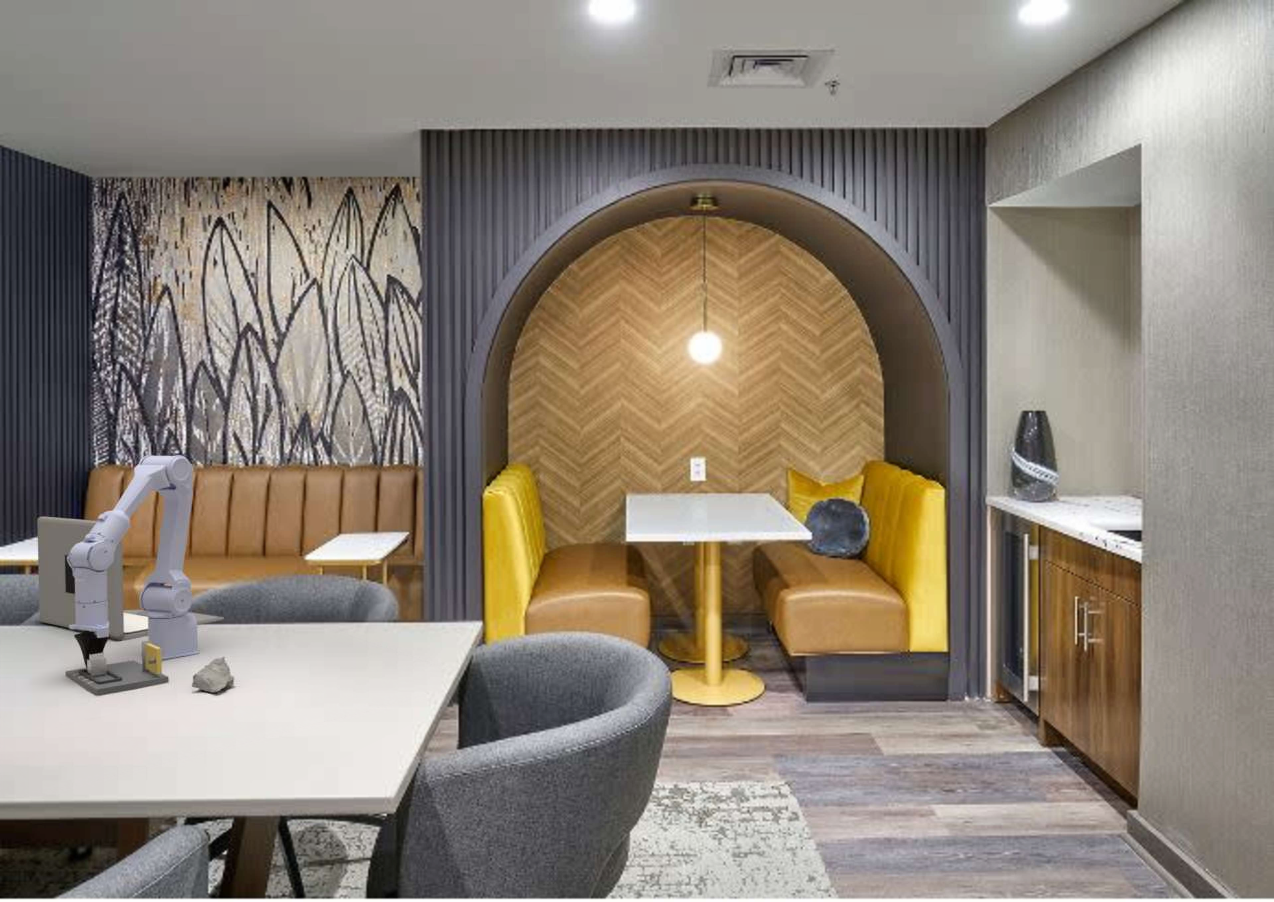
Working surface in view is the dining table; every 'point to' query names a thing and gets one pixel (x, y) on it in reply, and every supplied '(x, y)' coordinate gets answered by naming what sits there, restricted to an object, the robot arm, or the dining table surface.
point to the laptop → (60, 581)
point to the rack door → (153, 658)
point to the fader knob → (96, 664)
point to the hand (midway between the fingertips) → (92, 667)
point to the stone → (213, 676)
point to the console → (118, 677)
